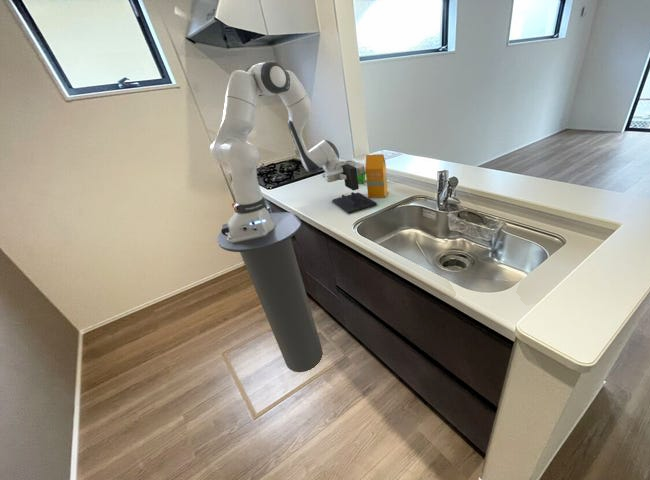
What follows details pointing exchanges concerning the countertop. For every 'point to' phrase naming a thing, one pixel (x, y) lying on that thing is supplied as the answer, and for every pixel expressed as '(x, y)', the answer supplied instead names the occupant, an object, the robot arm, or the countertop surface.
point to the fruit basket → (361, 177)
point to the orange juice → (376, 176)
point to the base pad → (354, 202)
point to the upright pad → (350, 177)
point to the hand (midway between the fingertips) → (351, 176)
